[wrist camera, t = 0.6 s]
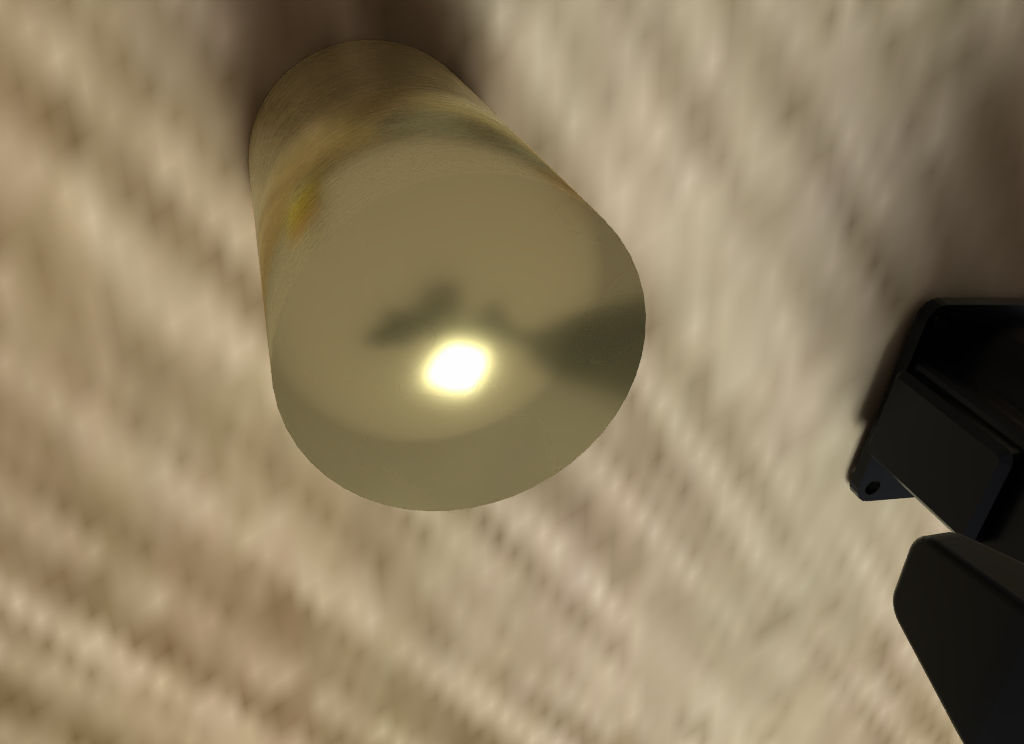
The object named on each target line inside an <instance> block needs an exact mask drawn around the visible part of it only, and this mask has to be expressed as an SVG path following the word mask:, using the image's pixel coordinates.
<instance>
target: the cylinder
mask: <svg viewBox="0 0 1024 744" xmlns="http://www.w3.org/2000/svg"><path fill="white" fill-rule="evenodd" d="M248 160H249V173H250V183H251V192H252V201H253V210H254V219H255V228H256V237H257V246H258V256H259V265H260V274H261V283H262V292H263V301H264V310H265V319H266V328H267V338H268V347H269V356H270V365H271V374H272V383H273V389H274V393H275V397H276V402H277V406H278V409H279V412H280V414H281V417H282V419H283V421H284V424H285V426H286V429H287V430H288V432H289V433H290V435H291V437H292V438H293V440H294V442H295V443H296V445H297V447H298V448H299V449H300V450H301V451H302V453H303V454H304V455H305V456H306V457H307V459H308V460H309V461H310V462H311V463H312V464H313V465H314V466H315V467H316V468H318V469H319V470H320V471H321V472H322V473H323V474H324V475H325V476H327V477H328V478H329V479H331V480H333V481H334V482H336V483H337V484H339V485H340V486H342V487H343V488H345V489H347V490H349V491H351V492H353V493H355V494H357V495H359V496H361V497H363V498H366V499H369V500H372V501H375V502H378V503H381V504H384V505H388V506H393V507H398V508H403V509H410V510H422V511H450V510H458V509H466V508H473V507H477V506H481V505H486V504H490V503H494V502H497V501H500V500H503V499H506V498H509V497H512V496H514V495H517V494H519V493H521V492H523V491H525V490H528V489H530V488H532V487H534V486H536V485H538V484H539V483H541V482H543V481H545V480H546V479H548V478H550V477H552V476H553V475H555V474H556V473H558V472H559V471H560V470H562V469H563V468H565V467H566V466H567V465H569V464H570V463H572V462H573V461H574V460H575V459H576V458H577V457H578V456H580V455H581V454H582V453H583V452H584V451H585V450H586V449H587V448H588V447H589V446H590V445H591V444H592V443H593V442H594V441H595V440H596V439H597V438H598V437H599V436H600V435H601V433H602V432H603V431H604V430H605V428H606V427H607V426H608V424H609V423H610V422H611V420H612V419H613V418H614V416H615V415H616V414H617V412H618V410H619V408H620V407H621V405H622V403H623V402H624V400H625V398H626V397H627V394H628V392H629V390H630V388H631V385H632V383H633V381H634V379H635V376H636V373H637V370H638V366H639V363H640V360H641V356H642V351H643V345H644V339H645V321H646V313H645V304H644V294H643V290H642V287H641V283H640V279H639V275H638V272H637V270H636V268H635V265H634V263H633V261H632V258H631V256H630V254H629V252H628V251H627V249H626V247H625V246H624V244H623V243H622V241H621V239H620V238H619V236H618V235H617V234H616V233H615V232H614V230H613V229H612V228H611V227H610V226H609V225H608V224H607V222H606V221H605V220H604V219H603V218H602V217H601V216H600V215H599V214H598V213H597V212H596V211H595V210H594V209H593V208H592V207H591V206H590V205H589V204H587V203H586V202H585V201H584V200H583V199H582V198H581V197H580V196H579V195H578V194H577V193H576V192H575V191H574V190H573V189H572V188H571V187H570V186H569V185H568V184H567V183H566V182H565V181H564V180H563V179H562V178H561V177H560V176H559V175H558V174H557V173H556V172H555V171H554V170H552V169H551V168H550V167H549V166H548V165H547V164H546V163H545V162H544V161H543V160H542V159H541V158H540V157H539V156H538V155H537V154H536V153H535V152H534V151H533V150H532V149H531V148H530V147H529V146H528V145H527V144H526V143H525V142H524V141H523V140H522V139H521V138H520V137H519V136H517V135H516V134H515V133H514V132H513V131H512V130H511V129H510V128H509V127H508V126H507V125H506V124H505V123H504V122H503V121H502V120H501V119H500V118H499V117H498V116H497V115H496V114H495V113H494V112H493V111H492V110H491V109H490V108H489V107H488V106H487V105H486V104H485V103H484V102H482V101H481V100H480V99H479V98H478V97H477V96H476V95H475V94H474V93H473V92H472V91H471V90H470V89H469V88H468V87H467V86H466V85H465V84H464V83H463V82H462V81H461V80H460V79H459V78H458V77H457V76H456V75H455V74H454V73H452V72H451V71H450V70H449V69H448V68H447V67H445V66H444V65H443V64H442V63H440V62H439V61H437V60H436V59H434V58H433V57H431V56H430V55H428V54H426V53H424V52H422V51H419V50H417V49H415V48H413V47H410V46H406V45H403V44H400V43H396V42H390V41H384V40H356V41H348V42H344V43H340V44H336V45H332V46H329V47H327V48H324V49H322V50H319V51H317V52H315V53H313V54H311V55H309V56H308V57H306V58H304V59H303V60H301V61H300V62H298V63H297V64H296V65H294V66H293V67H292V68H291V69H289V70H288V71H287V72H286V73H285V74H284V75H283V76H282V77H281V78H280V79H279V80H278V81H277V82H276V84H275V85H274V86H273V88H272V89H271V91H270V92H269V93H268V95H267V96H266V98H265V100H264V102H263V103H262V105H261V107H260V109H259V111H258V114H257V116H256V119H255V122H254V125H253V128H252V133H251V138H250V143H249V158H248Z"/></svg>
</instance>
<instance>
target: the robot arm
mask: <svg viewBox="0 0 1024 744" xmlns="http://www.w3.org/2000/svg"><path fill="white" fill-rule="evenodd" d="M936 317H938V318H937V319H936ZM935 319H936V320H935ZM850 489H851V491H852V492H853V493H854V494H855V495H856V496H857V497H858V498H860V499H861V500H862V501H875V500H887V499H899V498H911V497H915V498H916V499H917V500H919V501H920V502H921V503H922V504H923V505H924V506H925V507H926V508H927V509H928V510H929V511H930V512H931V513H932V514H934V515H935V516H936V517H937V518H938V519H939V520H940V521H941V522H942V523H943V524H944V525H945V526H946V527H947V528H948V529H950V530H951V531H952V532H947V533H940V534H934V535H928V536H922V537H920V538H918V539H917V540H916V541H914V542H913V544H912V546H911V547H910V550H909V553H908V555H907V558H906V561H905V564H904V566H903V569H902V572H901V575H900V577H899V580H898V583H897V586H896V588H895V591H894V595H893V606H894V611H895V615H896V618H897V620H898V622H899V624H900V626H901V628H902V629H903V631H904V633H905V635H906V637H907V639H908V641H909V643H910V645H911V646H912V648H913V650H914V652H915V654H916V656H917V658H918V660H919V661H920V663H921V665H922V667H923V669H924V671H925V673H926V675H927V677H928V678H929V680H930V682H931V684H932V686H933V688H934V690H935V692H936V693H937V695H938V697H939V699H940V701H941V703H942V705H943V707H944V709H945V710H946V712H947V714H948V716H949V718H950V720H951V722H952V724H953V725H954V727H955V729H956V731H957V733H958V735H959V736H960V738H961V740H962V742H963V744H1024V299H983V298H937V299H932V300H930V301H929V302H927V303H925V304H924V305H923V306H922V307H921V308H920V310H919V312H918V313H917V315H916V318H915V320H914V323H913V325H912V328H911V330H910V333H909V335H908V338H907V340H906V343H905V345H904V348H903V350H902V353H901V355H900V358H899V360H898V363H897V365H896V368H895V370H894V373H893V375H892V378H891V380H890V383H889V385H888V388H887V390H886V393H885V395H884V398H883V400H882V403H881V405H880V408H879V410H878V413H877V415H876V418H875V420H874V423H873V426H872V428H871V431H870V433H869V436H868V438H867V441H866V443H865V446H864V448H863V451H862V453H861V456H860V458H859V461H858V463H857V466H856V468H855V471H854V473H853V476H852V478H851V481H850Z"/></svg>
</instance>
